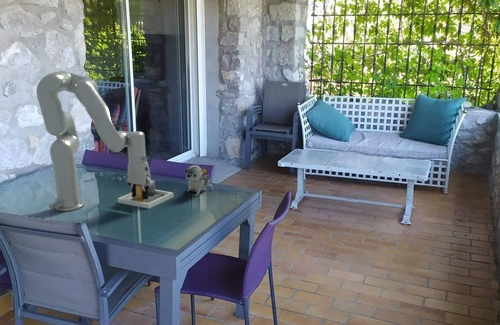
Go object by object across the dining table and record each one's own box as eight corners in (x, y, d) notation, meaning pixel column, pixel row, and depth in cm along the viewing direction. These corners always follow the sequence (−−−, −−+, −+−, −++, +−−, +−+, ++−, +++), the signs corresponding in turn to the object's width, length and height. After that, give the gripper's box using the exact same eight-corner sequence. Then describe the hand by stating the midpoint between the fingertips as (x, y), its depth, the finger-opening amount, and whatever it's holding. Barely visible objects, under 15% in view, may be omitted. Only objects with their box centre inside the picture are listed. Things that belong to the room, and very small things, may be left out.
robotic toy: (177, 196, 233) (175, 166, 229) (197, 187, 248) (196, 158, 244) (199, 200, 227) (198, 169, 223) (219, 190, 242) (218, 161, 238)
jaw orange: (147, 201, 224) (147, 184, 222) (141, 204, 220) (140, 187, 218) (139, 199, 226) (139, 183, 224) (133, 202, 222) (132, 185, 220)
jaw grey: (152, 199, 227) (151, 182, 225) (144, 197, 229) (143, 181, 227) (158, 196, 231) (157, 180, 229) (150, 195, 233) (149, 179, 231)
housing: (148, 210, 215) (148, 204, 214) (118, 204, 223) (117, 198, 222) (173, 198, 230) (173, 192, 229) (143, 193, 238) (143, 187, 238)
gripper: (158, 159, 217) (160, 198, 222) (128, 155, 225) (131, 192, 230) (147, 163, 211) (149, 203, 215) (117, 159, 219) (120, 197, 223)
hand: (140, 197), depth 222 cm, fingers open, 5 cm apart
